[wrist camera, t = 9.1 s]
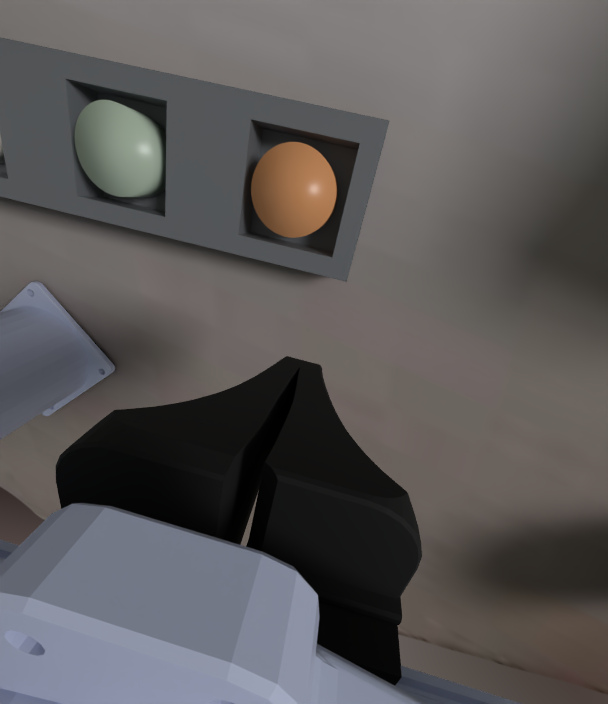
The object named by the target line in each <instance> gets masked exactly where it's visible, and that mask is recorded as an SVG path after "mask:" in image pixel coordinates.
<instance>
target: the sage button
mask: <svg viewBox="0 0 608 704" xmlns="http://www.w3.org/2000/svg"><path fill="white" fill-rule="evenodd" d="M75 147H76V152H77V155H78V158H79V161H80V163H81V165H82V167H83V169H84V171H85V173H86V174H87V176H88V177H89V178H90V179H91V181H92V182H93V183H94V184H95V185H96V186H98V187H99V188H100V189H101V190H103V191H105V192H106V193H108V194H111V195H114V196H119V197H141V198H149V197H154V196H157V195H158V194H160V193H161V192H163V191H164V190H165V189H166V134H165V132H164V131H163V129H162V128H161V127H160V126H159V125H158V124H157V122H155V121H154V120H153V119H152V118H150V117H149V116H147V115H145V114H143V113H141V112H138V111H136V110H134V109H131V108H129V107H126V106H124V105H122V104H119V103H117V102H114V101H111V100H97V101H94V102H92V103H90V104H89V105H87V106H86V107H85V108H84V109H83V110H82V112H81V113H80V115H79V117H78V119H77V122H76V127H75Z"/></svg>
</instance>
